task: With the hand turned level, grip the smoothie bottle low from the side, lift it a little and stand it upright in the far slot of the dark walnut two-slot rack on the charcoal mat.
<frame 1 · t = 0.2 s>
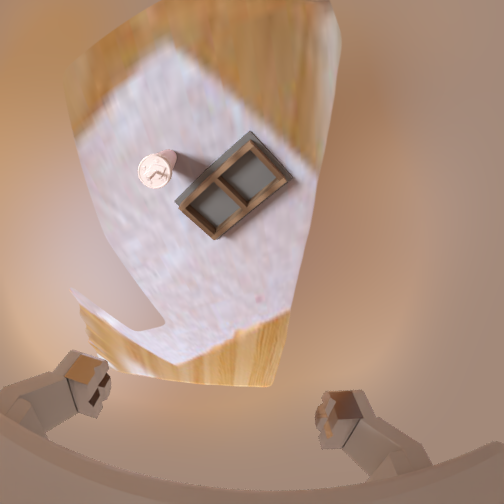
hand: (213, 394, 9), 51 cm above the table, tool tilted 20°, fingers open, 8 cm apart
rack: (231, 191, 57), on the mat
smoothie: (168, 157, 55), on the table
mat: (231, 188, 59), on the table
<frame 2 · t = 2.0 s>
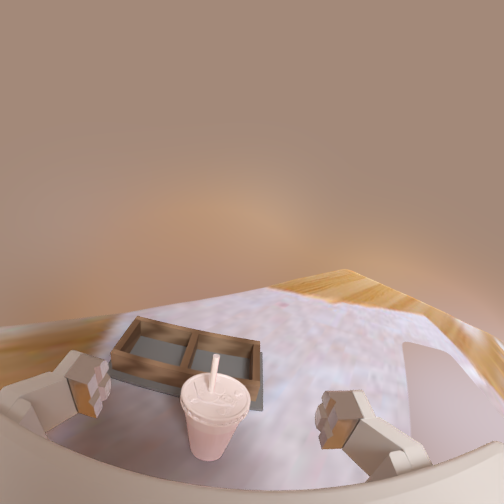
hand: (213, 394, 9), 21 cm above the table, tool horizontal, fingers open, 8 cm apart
rack: (189, 356, 39), on the mat, point 1 cm above the table
smoothie: (206, 449, 26), on the table
mat: (188, 367, 39), on the table
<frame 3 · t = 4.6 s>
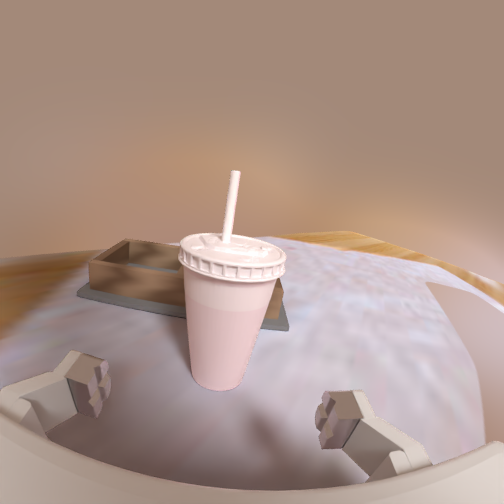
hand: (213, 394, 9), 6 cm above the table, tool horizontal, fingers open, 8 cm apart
rack: (188, 273, 32), on the mat
smoothie: (217, 376, 20), on the table
mat: (186, 289, 33), on the table
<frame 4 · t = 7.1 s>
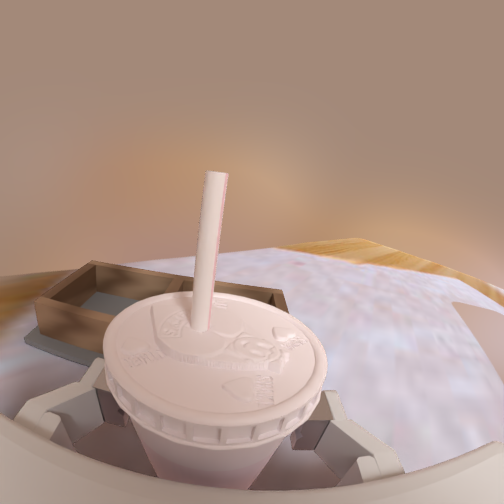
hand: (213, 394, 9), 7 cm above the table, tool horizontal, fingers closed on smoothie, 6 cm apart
rack: (167, 314, 23), on the mat
smoothie: (203, 489, 10), on the table, touching gripper
mat: (166, 333, 23), on the table
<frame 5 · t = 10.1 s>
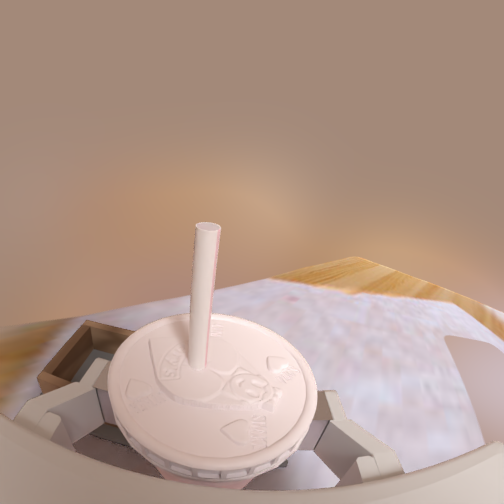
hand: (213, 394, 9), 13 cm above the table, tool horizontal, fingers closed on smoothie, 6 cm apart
rack: (161, 383, 23), on the mat, point 1 cm above the table
smoothie: (204, 480, 12), point 5 cm above the table, touching gripper
mat: (161, 397, 23), on the table
when the fingers open (8 cm above the table, at t = 13.0 s): smoothie stays where it is, resting on mat.
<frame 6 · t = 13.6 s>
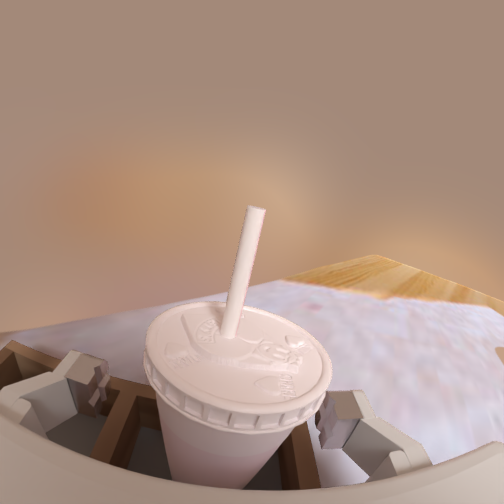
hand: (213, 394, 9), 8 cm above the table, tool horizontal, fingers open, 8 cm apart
rack: (109, 463, 10), on the mat, point 2 cm above the table
smoothie: (206, 481, 12), resting on mat
mat: (117, 479, 10), on the table
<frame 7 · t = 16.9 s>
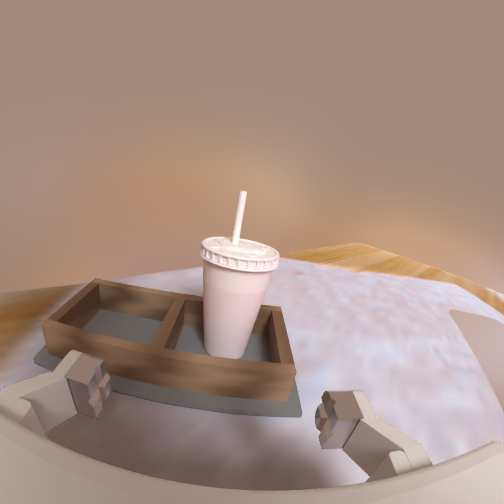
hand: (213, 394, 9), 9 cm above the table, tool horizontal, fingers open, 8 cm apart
rack: (169, 333, 24), on the mat, point 1 cm above the table
smoothie: (224, 350, 25), resting on mat
mat: (169, 351, 24), on the table
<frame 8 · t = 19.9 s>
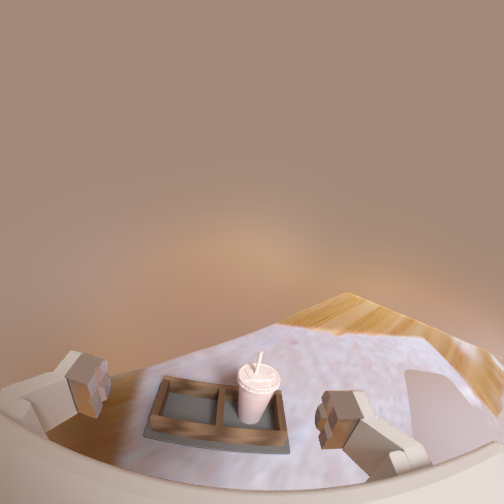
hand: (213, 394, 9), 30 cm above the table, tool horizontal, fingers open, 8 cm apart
rack: (220, 412, 40), on the mat, point 1 cm above the table
smoothie: (248, 417, 42), resting on mat
mat: (219, 419, 41), on the table
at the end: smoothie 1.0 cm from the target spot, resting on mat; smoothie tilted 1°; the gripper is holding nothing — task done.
